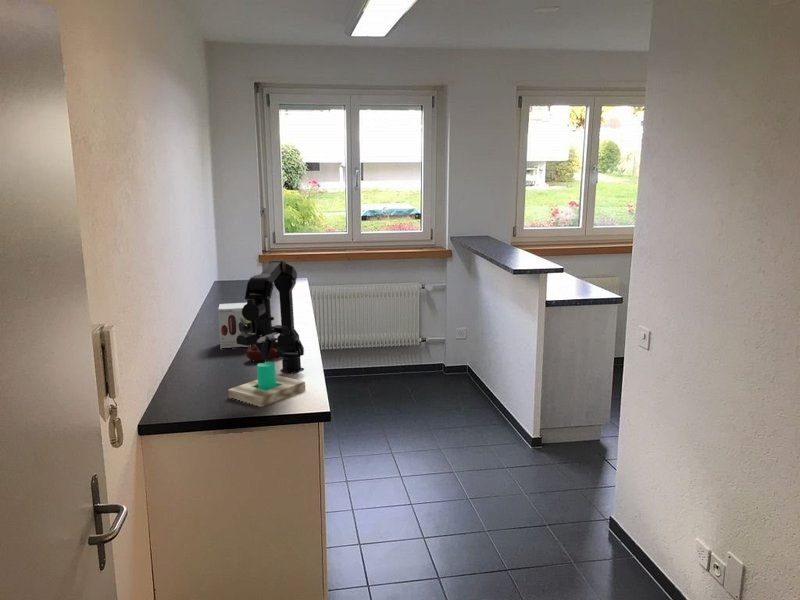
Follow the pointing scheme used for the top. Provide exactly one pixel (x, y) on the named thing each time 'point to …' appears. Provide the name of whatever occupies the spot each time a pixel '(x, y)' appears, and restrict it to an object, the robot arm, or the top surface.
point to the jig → (266, 391)
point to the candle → (266, 375)
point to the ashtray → (256, 355)
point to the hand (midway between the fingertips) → (265, 359)
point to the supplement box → (230, 324)
